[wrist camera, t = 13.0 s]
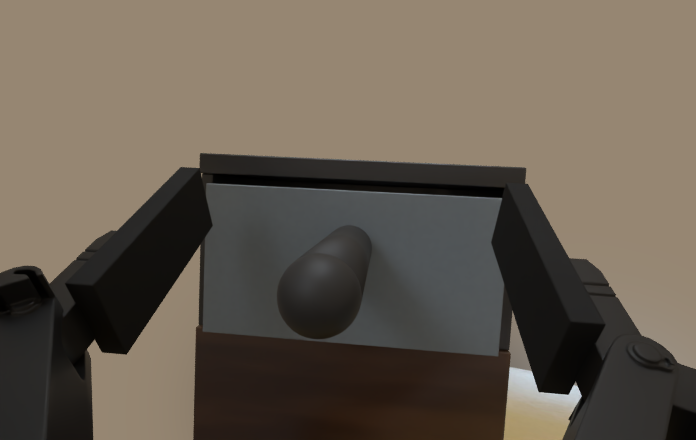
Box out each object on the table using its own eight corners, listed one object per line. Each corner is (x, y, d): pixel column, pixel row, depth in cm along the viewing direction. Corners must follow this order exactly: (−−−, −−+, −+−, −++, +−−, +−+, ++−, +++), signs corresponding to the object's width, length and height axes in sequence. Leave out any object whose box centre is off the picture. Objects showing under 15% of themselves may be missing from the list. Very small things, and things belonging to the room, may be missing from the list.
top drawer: (638, 558, 8) (678, 206, 8) (9, 480, 9) (5, 172, 9) (459, 300, 28) (466, 196, 27) (262, 285, 29) (265, 186, 28)
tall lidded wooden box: (474, 791, 21) (526, 167, 19) (185, 740, 23) (199, 153, 20) (445, 600, 31) (477, 176, 29) (246, 572, 32) (260, 166, 30)
